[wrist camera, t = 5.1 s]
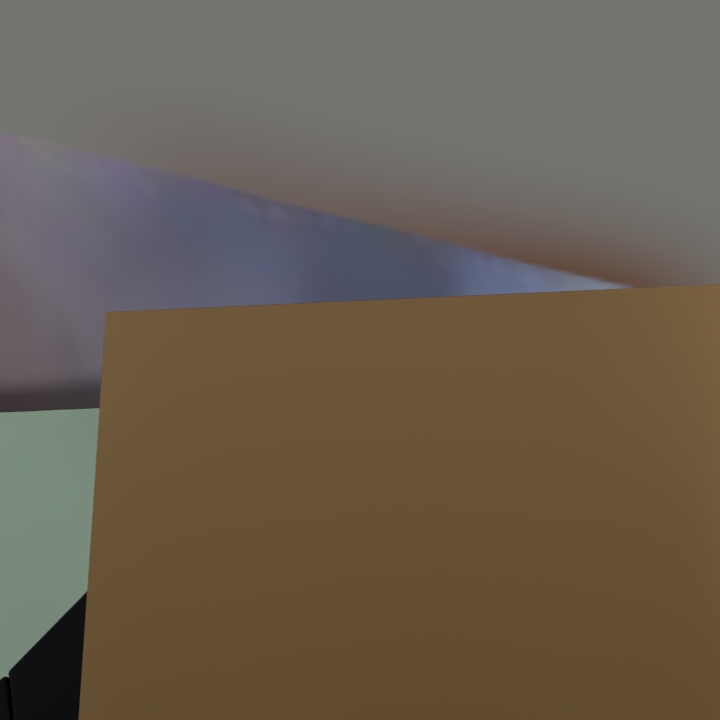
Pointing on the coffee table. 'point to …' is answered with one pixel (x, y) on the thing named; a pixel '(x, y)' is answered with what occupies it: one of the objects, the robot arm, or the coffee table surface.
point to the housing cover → (409, 510)
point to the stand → (43, 521)
